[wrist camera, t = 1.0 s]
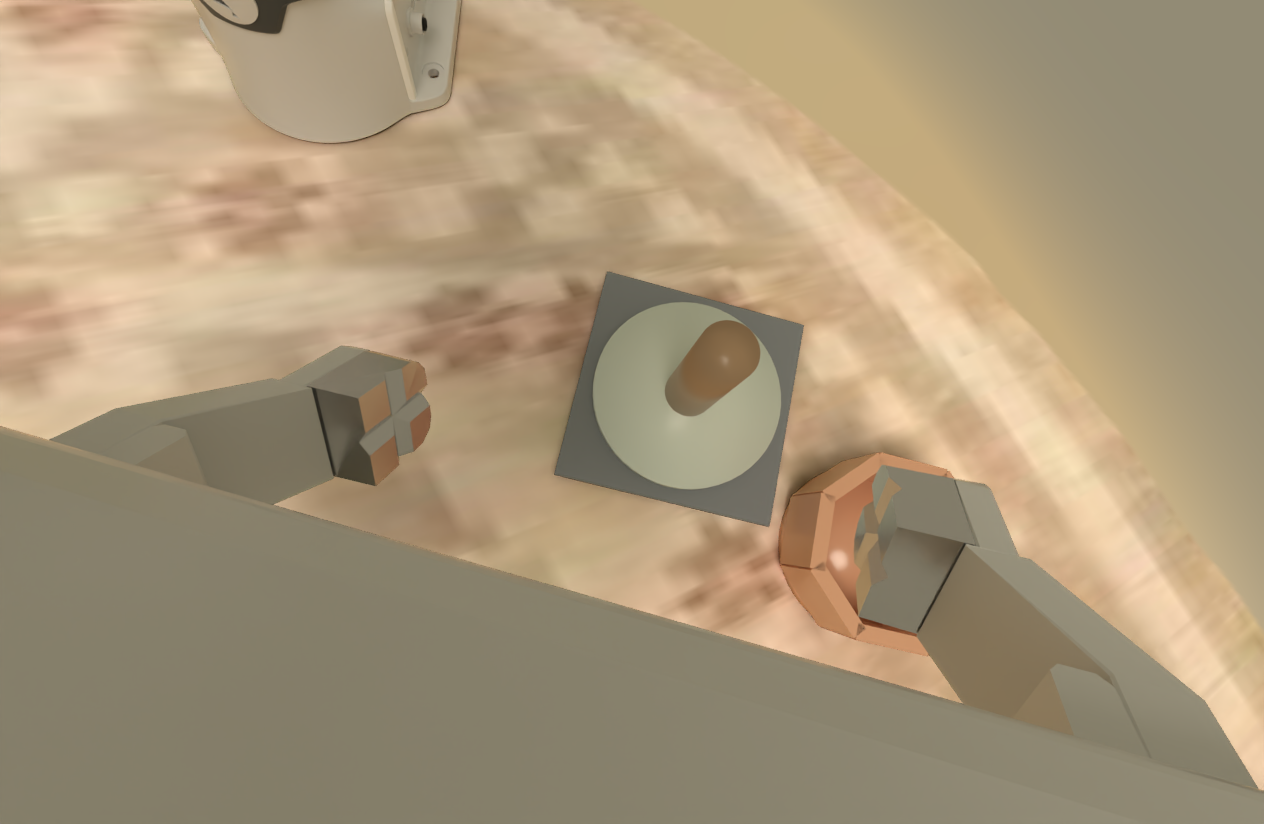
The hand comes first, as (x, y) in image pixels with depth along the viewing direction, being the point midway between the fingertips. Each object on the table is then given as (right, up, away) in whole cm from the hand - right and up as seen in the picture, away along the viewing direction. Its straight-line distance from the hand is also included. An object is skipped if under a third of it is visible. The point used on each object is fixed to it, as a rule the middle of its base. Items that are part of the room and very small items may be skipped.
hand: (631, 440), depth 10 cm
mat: (+4, +2, +33) cm, 33 cm away
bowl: (+17, -10, +33) cm, 38 cm away
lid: (+4, +2, +33) cm, 33 cm away
